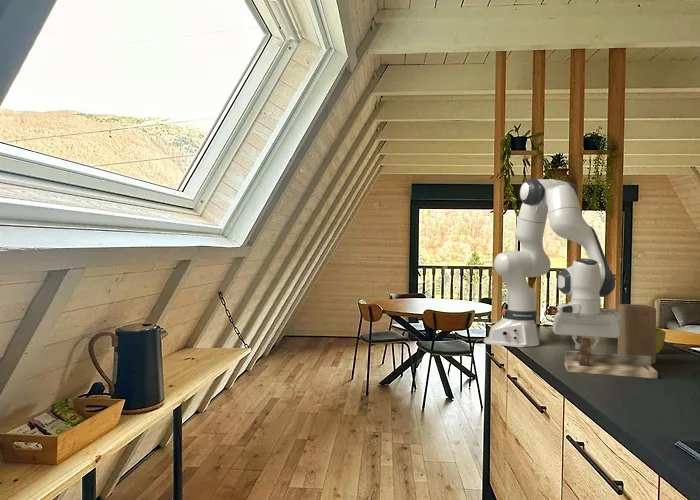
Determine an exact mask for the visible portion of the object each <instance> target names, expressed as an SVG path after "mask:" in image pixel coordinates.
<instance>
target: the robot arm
mask: <svg viewBox="0 0 700 500" xmlns="http://www.w3.org/2000/svg"><path fill="white" fill-rule="evenodd" d="M578 196H579V191H578V187H577V185H576V184H574V183H573V182H570V181H564V180H559V179H554V178H553V179H552V178H549V179H546V178H527V179H526V180H524V181H523V183H521V186H520V189H519V199H520V200H521V202H522V203H521V205H520V209H519V213H518V217H517V221H516V226H515V231H514V236H515V239H516V240H517V241H519V242H520V244H521V250H508V251H504V252H499V253H498V254H497V255H496V257H495V258H494V261H493V268H494V270H495V272H496V273H497V274H498V276H500V277H501V278H502V280H503V282H504V285H505V286H506V289H507V303H508V304H507V307H508V308H507V309H506V308H505V309H503V310H502V311H501V313H502V317H503V318H502V319H500V320H498V321H497V322H496V323H495V324H493V325H492V326H491V327H490V329H489V333H488V336H486V337H484V338H483V343H484V344H486V345H494V346H502V347H503V346H506V347H515V348H527V347H536V346H537V347H538V346H539V345H540V341H539V336H538V331H537V330H538V329H537V323H538V312H537V308H536V307H537V294H536V291H535V289H534V288H532V287H530V285H529V284H528V281H527V278H536V277H541V276H544V275H546V274H548V272H550V270H551V260H550V257H549V256H548V255H547V253H546V252H545V249H544V245H543V244H544V243H543V242H544V241H543V238H544V233H545V228H546V223H547V219H548V222H549V226H550V228H551V231H552V232H553V233H554V234H556V236H558V237H560V238H563V239H565V240H568V241H571V242H574V243H576V244H578V245H580V246H581V247H582V248H584V250H585V252H586V255H587V258H576V259H574V260H573V262H572V265H571V266H568V267H566V268H563V269H562V270H561V271H559V273H558V274H557V280H556V281H557V282H556V284H557V289H558V290H559V291H560V292H561V293H562V294H563V295H567V296H571V301H569V302H565V303H561V304H558V305H557V306H556V310H557V312H556V313H555V314H554V317H553V322H552V332H553V333H554V334H555V335H560V336H571V339H572V341H573V342H574V344H575V345H574V346H575V350H580V349H581V344H580V342H577V339H578V337H593V340H594V341H593V343H591V351H596V346H597V344H598V343H599V342H600V338H613V339H618V337H619V336H620V328H619V322H620V320H621V314H620V312H619V311H618V309H617V310H616V309H615V308H601V301H602V300H601V298H606V297H608V296H610V294H611V293H612V292H614V290H615V287H616V280H615V276H614V274H613V272H612V270H611V268H610V267H609V264H608V262H607V258H606V256H605V254H604V250H603V248H602V245H601V242H600V239H599V238H598V235H597V233H596V230H595V229H594V227H592V226H591V225H589V224H588V222H587V221H586V220H585V219H584V217H583V215H582V210H581V205H580V201H579V197H578Z"/></svg>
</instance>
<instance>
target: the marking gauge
mask: <svg viewBox="0 0 700 500" xmlns="http://www.w3.org/2000/svg"><path fill="white" fill-rule="evenodd" d="M579 343H580V344H581V349H579V351H578V363H579V365H588V366H593V356H592V354H591V352H592V350H591V344H592V340H591V338H585V337H579Z"/></svg>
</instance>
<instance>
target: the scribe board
mask: <svg viewBox="0 0 700 500" xmlns="http://www.w3.org/2000/svg"><path fill="white" fill-rule="evenodd" d="M578 352H579V351H576V350H574V351H573V350H565V351H564V366H565V369H566V371H567V372H568V373H580V374H581V373H582V374H594V375H605V376H606V375H607V376H619V377H620V376H621V377H631V378H633V377H634V378H643V379H644V378H645V379H655V380H656V379H658V377H659V376H658V375H659V372H658V370H656V369H655V368H654V367H653V366H652V364H651V356H639V355H624V354H618V353H609V352H608V353H606V352H594V351H593V352H592V351H591V354H592V356H593V366H588V365H579V363H578Z"/></svg>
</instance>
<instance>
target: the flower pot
mask: <svg viewBox="0 0 700 500" xmlns="http://www.w3.org/2000/svg"><path fill="white" fill-rule="evenodd" d="M665 339H666V331H665V330H664V329H662V328H658V327H656V354H659V353H660V352H661V351H662V349H663V348H664V345H665Z"/></svg>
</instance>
